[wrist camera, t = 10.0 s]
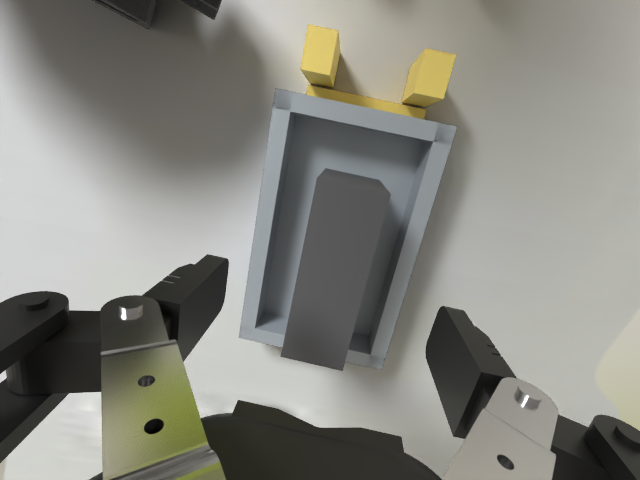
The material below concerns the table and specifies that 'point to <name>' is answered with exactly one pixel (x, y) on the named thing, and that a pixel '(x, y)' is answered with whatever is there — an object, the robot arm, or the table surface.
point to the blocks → (420, 90)
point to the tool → (140, 4)
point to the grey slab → (334, 267)
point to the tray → (296, 199)
